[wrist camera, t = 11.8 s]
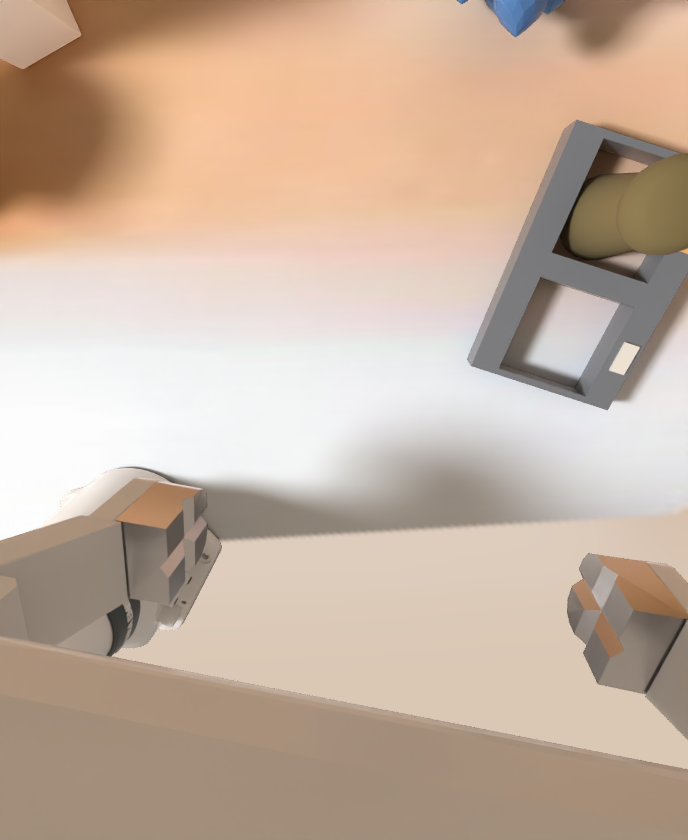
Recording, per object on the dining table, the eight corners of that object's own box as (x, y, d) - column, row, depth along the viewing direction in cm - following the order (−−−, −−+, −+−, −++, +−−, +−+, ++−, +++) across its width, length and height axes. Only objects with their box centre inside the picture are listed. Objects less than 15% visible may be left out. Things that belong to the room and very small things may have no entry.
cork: (655, 179, 32) (776, 145, 22) (624, 265, 34) (720, 271, 24) (573, 168, 32) (653, 129, 22) (547, 254, 34) (610, 254, 24)
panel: (595, 400, 38) (608, 410, 36) (467, 359, 38) (471, 366, 36) (720, 179, 31) (747, 173, 29) (564, 129, 31) (577, 118, 29)
